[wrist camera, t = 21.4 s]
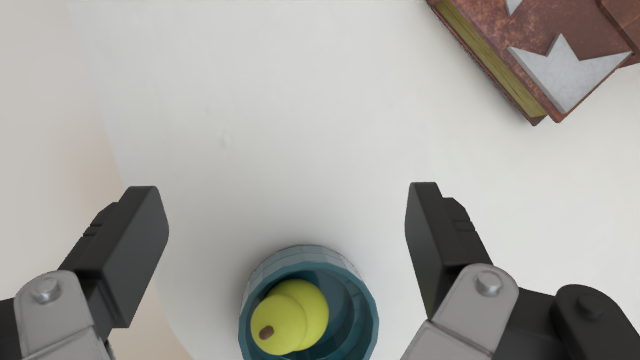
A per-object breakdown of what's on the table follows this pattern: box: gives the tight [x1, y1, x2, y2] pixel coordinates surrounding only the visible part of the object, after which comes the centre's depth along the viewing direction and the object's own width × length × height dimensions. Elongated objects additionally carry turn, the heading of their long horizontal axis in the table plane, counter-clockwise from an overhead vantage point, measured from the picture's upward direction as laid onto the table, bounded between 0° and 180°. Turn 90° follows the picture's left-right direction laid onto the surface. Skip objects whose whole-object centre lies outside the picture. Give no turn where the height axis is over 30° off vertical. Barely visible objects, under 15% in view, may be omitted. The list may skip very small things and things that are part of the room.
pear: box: [251, 279, 329, 355], centre depth 30 cm, size 5×5×9 cm
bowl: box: [238, 245, 379, 360], centre depth 33 cm, size 11×11×5 cm
